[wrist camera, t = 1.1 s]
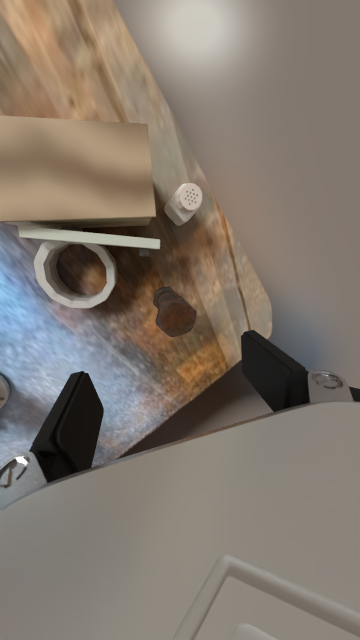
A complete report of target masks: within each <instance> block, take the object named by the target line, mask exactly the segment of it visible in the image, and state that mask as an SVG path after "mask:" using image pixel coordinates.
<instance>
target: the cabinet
mask: <svg viewBox="0 0 360 640" xmlns="http://www.w3.org/2000/svg"><path fill="white" fill-rule="evenodd" d="M152 217H156V210H155V200H154V189H153V179H152V168H151V157H150V147H149V136H148V126H147V124H139V123H121V122H104V121H86V120H68V119H51V118H33V117H15V116H0V222H2V223H7V224H12V225H17V226H28V227H38V228H48V229H62V230H69V231H79V232H83V231H82V228H95V227H120V226H144V225H149V222H150V220H151V218H152ZM70 245H74V244H73V243H68V244H66V245H64V246H62V247H60V248H58V249H57V250H55V252H54V254H53V256H52V258H51V260H50V262H49V266H50V273H51V278H52V280H53V281H54V282H55V284H56V285H57V286H58V287H59V289H60V290H61V291H62V292H64V293H66V294H68V295H70V296H72V297H74V298H92V297H94V296H96V295H98V294H100V293H101V292H102V291H103V290H102V291H101V292H99V293H98V294H92V295H82V294H79V293H76V292H74V291H71V290H70V289H69V288H68V287H67V286H66V285H65V284H64V283H63V282H62V281H61V280H60V278H59V275H58V272H57V268H56V264H57V260H58V257H59V253H60V252H62V251H63V250H64V249H66V248H67V247H68V246H70ZM99 245H101V244H99ZM101 246H102V247H104V249H106V247H105V246H104V245H101ZM106 251H107V253H108V254H109V256H110V258H111V259H112V261H113V262H114V264H115V265H114V266H115V272H116V281H117V278H118V272H117V267H116V261H115V259H114V258H113V256H112V255H111V254H110V252H109V251H108V250H107V249H106ZM114 286H115V285H114ZM113 289H114V287H113ZM113 289H112V291H113ZM112 291H111V292H112ZM111 292H110V294H111ZM110 294H109V295H110Z"/></svg>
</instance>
